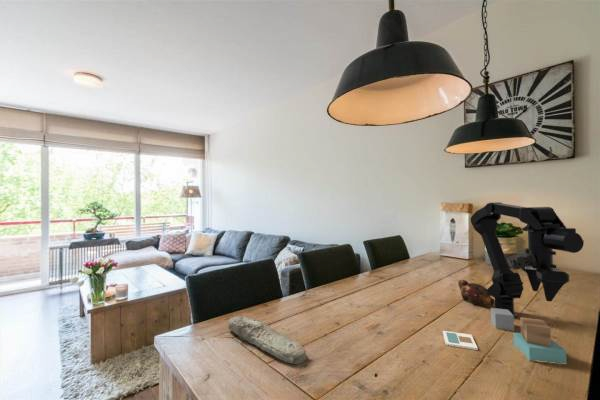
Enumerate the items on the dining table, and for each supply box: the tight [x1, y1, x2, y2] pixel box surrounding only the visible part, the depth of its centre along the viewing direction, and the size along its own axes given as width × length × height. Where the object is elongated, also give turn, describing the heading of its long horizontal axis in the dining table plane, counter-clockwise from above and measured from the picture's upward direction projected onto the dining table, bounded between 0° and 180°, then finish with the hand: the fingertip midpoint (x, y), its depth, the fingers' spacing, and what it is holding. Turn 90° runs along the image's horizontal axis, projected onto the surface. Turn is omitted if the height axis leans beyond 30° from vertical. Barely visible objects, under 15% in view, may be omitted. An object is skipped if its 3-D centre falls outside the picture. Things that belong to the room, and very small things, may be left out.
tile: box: [442, 330, 479, 351], centre depth 81 cm, size 8×8×1 cm
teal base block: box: [513, 331, 567, 364], centre depth 73 cm, size 8×8×4 cm
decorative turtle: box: [457, 279, 495, 306], centre depth 110 cm, size 10×15×8 cm, turn 22°
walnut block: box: [519, 316, 552, 347], centre depth 73 cm, size 5×5×5 cm
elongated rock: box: [227, 315, 307, 365], centre depth 84 cm, size 35×5×10 cm
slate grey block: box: [490, 307, 515, 331], centre depth 89 cm, size 5×5×5 cm
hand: (541, 295), depth 84 cm, fingers open, 9 cm apart
